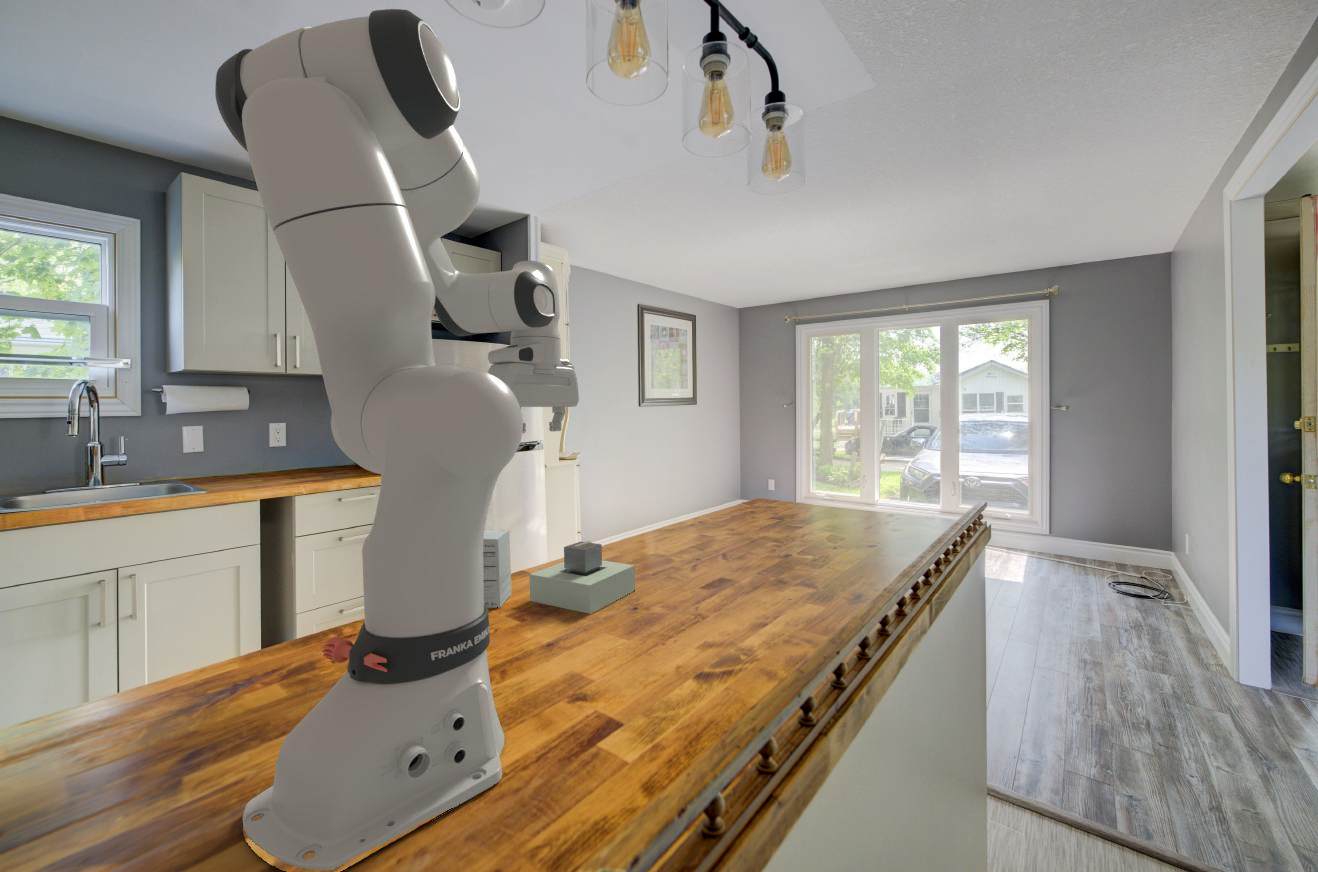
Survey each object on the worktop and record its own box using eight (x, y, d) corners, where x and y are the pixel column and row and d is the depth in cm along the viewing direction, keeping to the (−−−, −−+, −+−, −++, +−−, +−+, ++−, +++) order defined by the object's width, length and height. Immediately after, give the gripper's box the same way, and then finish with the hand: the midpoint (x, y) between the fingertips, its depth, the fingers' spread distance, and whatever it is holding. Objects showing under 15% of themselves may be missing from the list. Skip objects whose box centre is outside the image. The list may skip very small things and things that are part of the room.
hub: (590, 614, 95) (589, 585, 94) (530, 600, 102) (529, 574, 102) (635, 590, 107) (634, 565, 106) (578, 580, 114) (577, 556, 114)
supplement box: (474, 595, 106) (472, 529, 105) (512, 594, 106) (510, 529, 105) (458, 608, 98) (456, 538, 98) (500, 608, 98) (498, 538, 98)
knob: (585, 590, 101) (585, 547, 100) (564, 586, 103) (563, 544, 103) (602, 583, 105) (601, 542, 105) (581, 579, 108) (580, 539, 107)
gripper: (560, 361, 110) (562, 430, 111) (480, 352, 93) (482, 434, 93) (585, 359, 107) (587, 430, 108) (507, 349, 90) (509, 434, 90)
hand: (538, 432), depth 100 cm, fingers open, 8 cm apart
